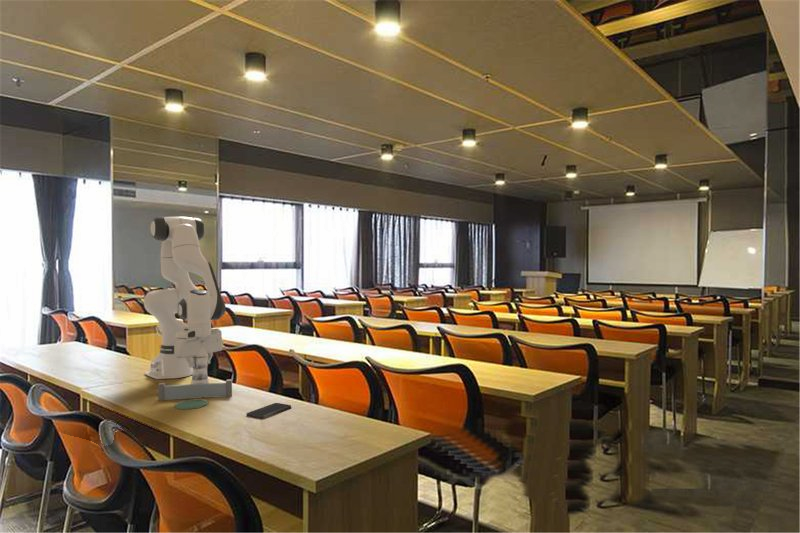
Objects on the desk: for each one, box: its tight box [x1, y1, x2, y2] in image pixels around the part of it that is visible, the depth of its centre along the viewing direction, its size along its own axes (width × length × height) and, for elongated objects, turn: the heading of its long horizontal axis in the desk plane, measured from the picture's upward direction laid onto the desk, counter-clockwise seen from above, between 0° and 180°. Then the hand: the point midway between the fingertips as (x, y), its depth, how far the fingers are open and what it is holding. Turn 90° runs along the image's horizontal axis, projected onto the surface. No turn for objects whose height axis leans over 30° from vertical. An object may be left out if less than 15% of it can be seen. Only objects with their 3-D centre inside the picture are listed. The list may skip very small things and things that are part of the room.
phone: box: [245, 402, 292, 420], centre depth 176 cm, size 8×1×15 cm
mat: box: [174, 399, 208, 410], centre depth 184 cm, size 11×11×1 cm
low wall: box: [157, 378, 233, 401], centre depth 194 cm, size 26×2×6 cm, turn 103°
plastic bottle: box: [191, 341, 210, 384], centre depth 203 cm, size 6×7×20 cm
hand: (199, 365), depth 203 cm, fingers closed on plastic bottle, 6 cm apart
